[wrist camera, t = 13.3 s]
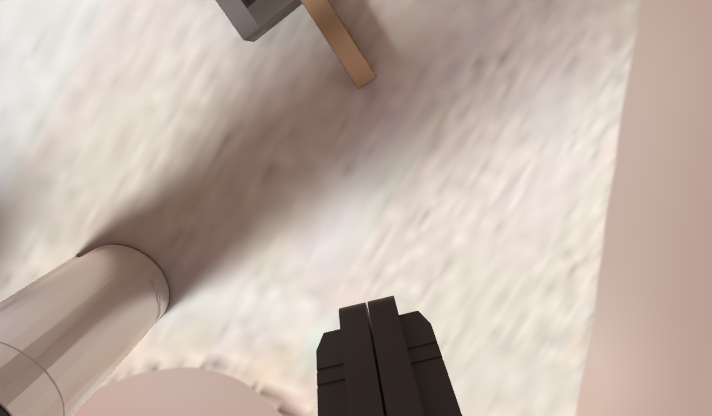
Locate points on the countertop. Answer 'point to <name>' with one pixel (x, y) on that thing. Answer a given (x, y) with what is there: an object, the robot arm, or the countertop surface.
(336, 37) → the channel
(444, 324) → the countertop surface
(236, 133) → the countertop surface
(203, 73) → the countertop surface
